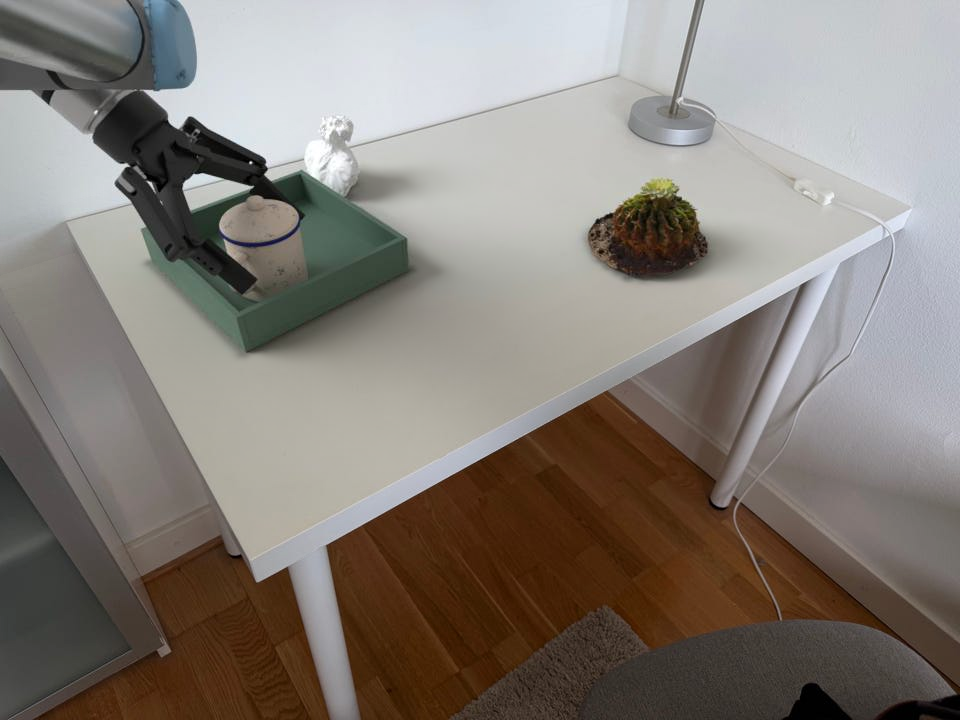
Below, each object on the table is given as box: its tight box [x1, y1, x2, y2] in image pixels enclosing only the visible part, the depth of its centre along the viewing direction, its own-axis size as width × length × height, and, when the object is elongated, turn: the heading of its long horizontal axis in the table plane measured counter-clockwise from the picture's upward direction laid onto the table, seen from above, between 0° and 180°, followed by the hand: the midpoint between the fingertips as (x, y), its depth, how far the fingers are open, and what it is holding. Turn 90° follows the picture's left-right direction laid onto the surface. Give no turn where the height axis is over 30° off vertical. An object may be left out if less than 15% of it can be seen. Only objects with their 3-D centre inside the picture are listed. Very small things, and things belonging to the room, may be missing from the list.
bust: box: [304, 114, 361, 197], centre depth 102 cm, size 12×8×11 cm
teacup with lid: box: [219, 196, 308, 302], centre depth 80 cm, size 12×9×12 cm
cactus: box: [587, 177, 709, 277], centre depth 92 cm, size 17×16×10 cm
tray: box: [140, 169, 410, 353], centre depth 87 cm, size 24×24×5 cm
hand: (275, 253), depth 80 cm, fingers open, 13 cm apart
